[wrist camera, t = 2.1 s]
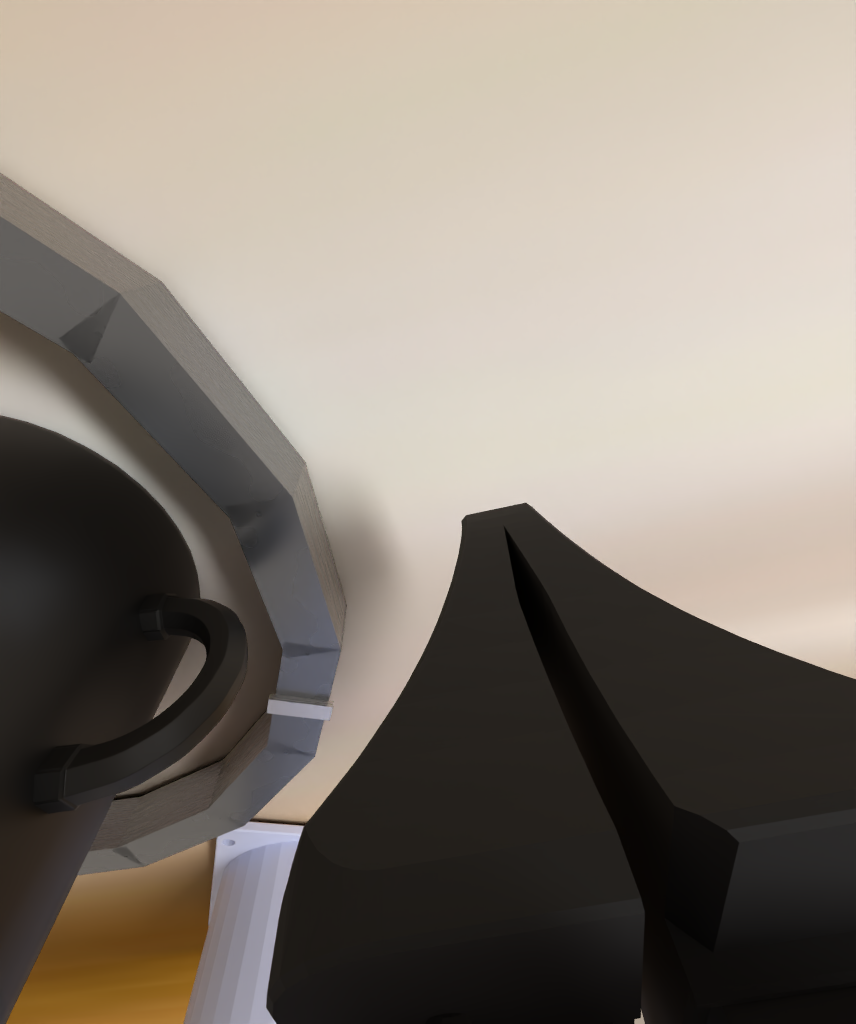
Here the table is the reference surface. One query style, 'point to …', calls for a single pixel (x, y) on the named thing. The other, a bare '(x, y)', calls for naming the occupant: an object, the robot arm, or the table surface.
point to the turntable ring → (221, 475)
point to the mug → (87, 667)
